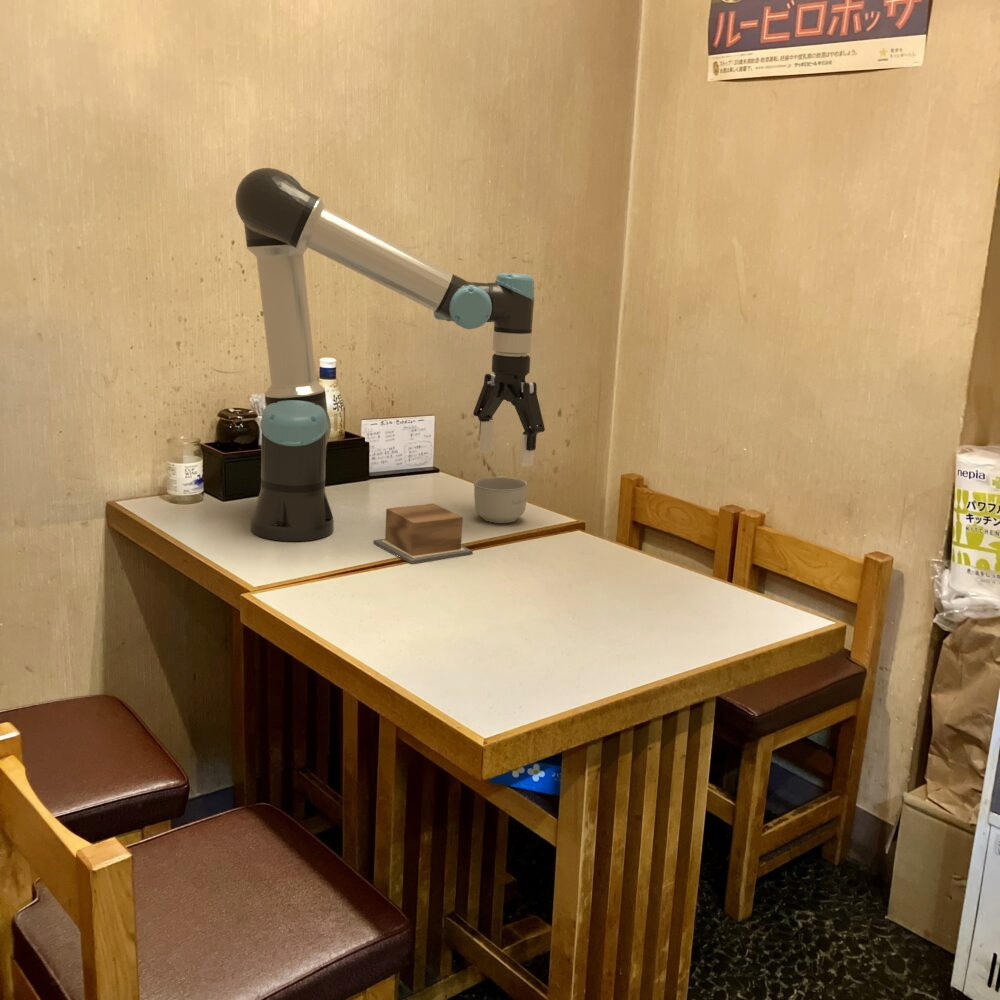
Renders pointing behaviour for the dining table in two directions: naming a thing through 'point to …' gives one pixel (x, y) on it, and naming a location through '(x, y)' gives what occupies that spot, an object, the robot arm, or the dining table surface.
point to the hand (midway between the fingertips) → (505, 459)
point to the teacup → (500, 498)
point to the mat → (421, 558)
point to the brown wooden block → (423, 529)
